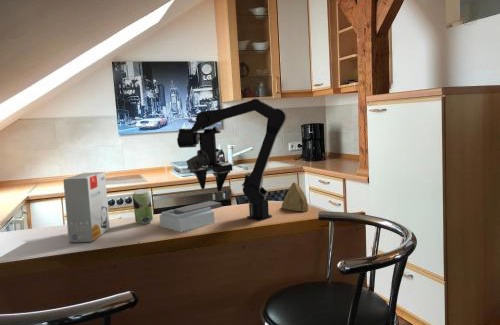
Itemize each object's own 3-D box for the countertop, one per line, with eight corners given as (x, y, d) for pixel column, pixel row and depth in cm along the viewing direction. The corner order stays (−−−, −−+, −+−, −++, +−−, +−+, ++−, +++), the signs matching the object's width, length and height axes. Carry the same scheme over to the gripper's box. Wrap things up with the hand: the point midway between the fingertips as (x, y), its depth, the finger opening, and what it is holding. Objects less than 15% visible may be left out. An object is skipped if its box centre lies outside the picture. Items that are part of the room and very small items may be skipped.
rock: (316, 205, 152) (307, 196, 161) (302, 188, 149) (294, 180, 159) (293, 224, 152) (286, 214, 162) (279, 207, 150) (273, 198, 159)
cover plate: (221, 206, 149) (221, 202, 149) (184, 216, 138) (184, 211, 138) (210, 204, 153) (210, 200, 153) (174, 213, 142) (173, 209, 142)
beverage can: (152, 219, 152) (150, 187, 151) (153, 224, 145) (150, 190, 144) (135, 221, 151) (132, 189, 149) (134, 226, 144) (131, 192, 142)
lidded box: (214, 222, 143) (213, 208, 143) (180, 232, 134) (179, 216, 133) (193, 217, 152) (192, 203, 151) (160, 226, 142) (159, 211, 142)
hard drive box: (92, 242, 128) (86, 178, 125) (68, 243, 128) (61, 179, 125) (110, 228, 143) (105, 171, 141) (88, 229, 143) (82, 172, 141)
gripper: (173, 148, 148) (177, 191, 150) (206, 149, 135) (209, 196, 137) (198, 145, 156) (201, 186, 158) (232, 146, 143) (234, 191, 145)
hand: (210, 190), depth 149 cm, fingers open, 9 cm apart
